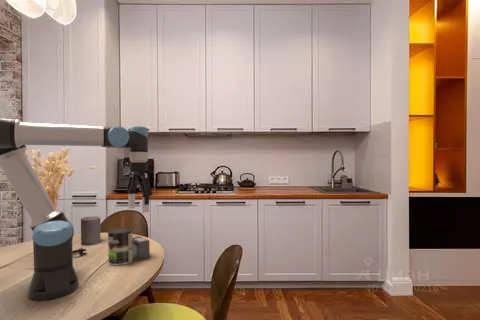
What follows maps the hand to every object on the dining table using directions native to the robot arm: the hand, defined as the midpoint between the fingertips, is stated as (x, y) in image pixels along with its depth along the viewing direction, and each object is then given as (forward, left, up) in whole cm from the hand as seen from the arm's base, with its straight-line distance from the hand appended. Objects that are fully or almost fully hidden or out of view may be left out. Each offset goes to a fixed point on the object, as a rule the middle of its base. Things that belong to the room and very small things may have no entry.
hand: (138, 210), depth 132 cm
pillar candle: (-6, +48, -23) cm, 54 cm away
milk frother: (-21, +34, -24) cm, 47 cm away
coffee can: (-5, +7, -23) cm, 25 cm away
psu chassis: (+4, +10, -23) cm, 26 cm away
